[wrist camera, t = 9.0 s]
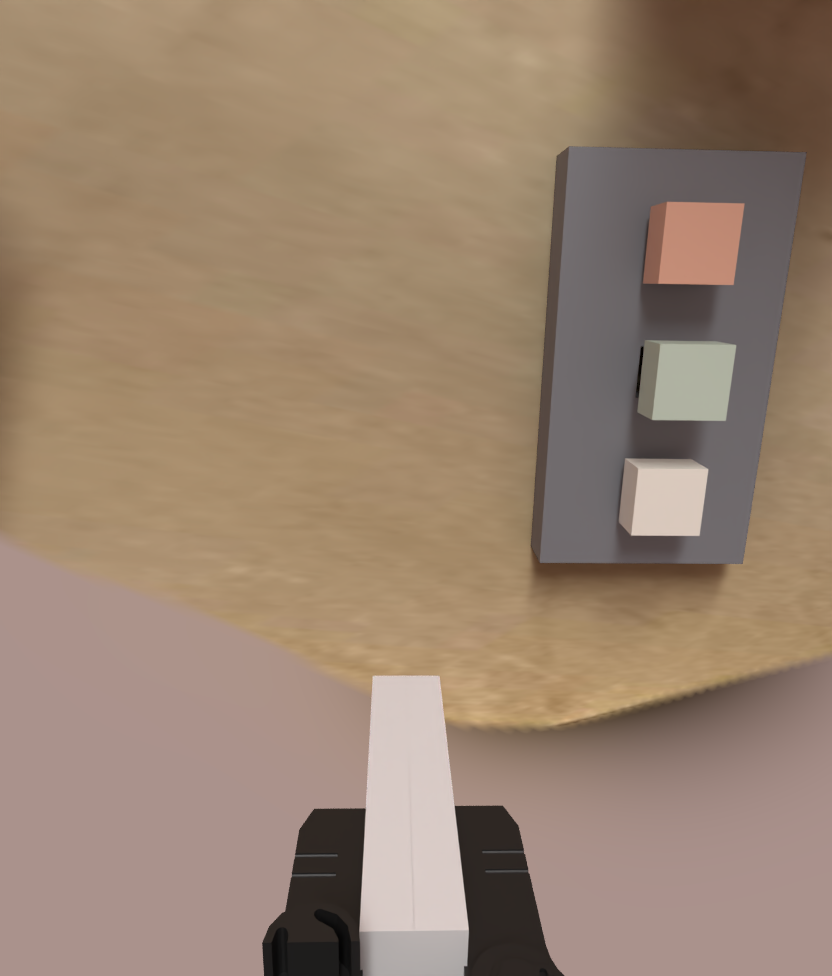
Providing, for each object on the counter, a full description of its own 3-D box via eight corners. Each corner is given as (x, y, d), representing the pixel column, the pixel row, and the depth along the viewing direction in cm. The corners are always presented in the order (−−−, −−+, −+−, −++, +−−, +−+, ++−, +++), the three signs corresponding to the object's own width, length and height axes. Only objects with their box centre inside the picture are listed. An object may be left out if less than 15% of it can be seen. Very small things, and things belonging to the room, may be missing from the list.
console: (530, 545, 48) (539, 562, 45) (556, 156, 41) (569, 146, 38) (721, 547, 48) (742, 563, 45) (777, 161, 41) (806, 152, 39)
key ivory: (605, 507, 46) (631, 535, 41) (610, 447, 45) (638, 468, 40) (665, 508, 46) (699, 535, 41) (673, 448, 45) (708, 469, 40)
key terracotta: (626, 283, 42) (658, 283, 37) (633, 211, 41) (667, 201, 36) (692, 284, 42) (733, 285, 37) (701, 213, 41) (744, 203, 36)
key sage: (621, 403, 43) (652, 420, 38) (628, 336, 42) (660, 343, 37) (686, 404, 43) (725, 420, 38) (694, 337, 42) (736, 345, 37)
